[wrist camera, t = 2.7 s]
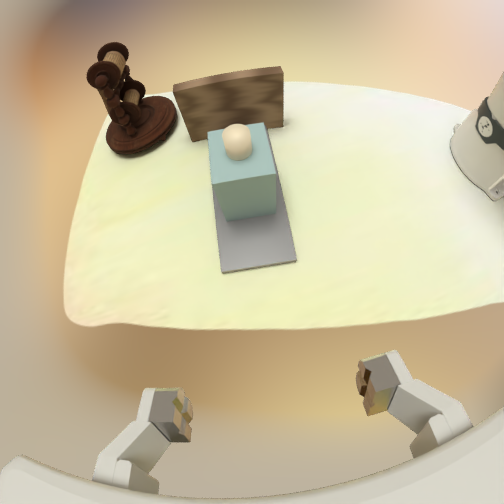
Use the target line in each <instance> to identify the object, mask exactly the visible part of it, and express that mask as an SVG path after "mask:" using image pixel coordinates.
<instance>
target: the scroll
mask: <svg viewBox="0 0 504 504" xmlns="http://www.w3.org/2000/svg"><path fill="white" fill-rule="evenodd" d="M128 56H129V52H128V49H127V48H126V46H125V45H123V44H121V43H118V42H111V43H108V44H106V45H104V46H103V47H102V48H101V49H100V50H99V52H98V56H97V58H98V61H99V62H97V63H95V64H93V65H92V66H91V67H90V68H89V70H88V72H87V81H88V83H89V84H90V85H91V86H92V87H94V88H96V89H97V90H98V91H99V93H100V95H101V97H102V99H103V102H104V104H105V106H106V109H107V111H108V114H109V116H110V117H111V119H112V122H111V123H110V125H109V127H108V129H107V133H106V141H107V144H108V145H109V146H110V148H111V149H112V150H113V151H114V152H116V153H118V154H132V153H137V152H140V151H142V150H145V149H147V148H149V147H151V146H152V145H154V144H155V143H157V142H158V141H160V140H163V141H165V140H166V136H165V135H166V134H167V133H168V132H169V131H170V129H171V128H172V126H173V125H174V123H175V120H176V116H177V112H176V108H175V106H174V104H173V102H172V101H171V100H170V99H168V98H166V97H162V96H151V97H146V98H143V97H144V95H145V91H146V90H145V87H144V85H143V84H142V83H140V82H139V81H136V80H133V79H132V78H131V77H130V76H129V74H130V73H129V72H130V69H129V66H127V65H125V64H126V61H127V59H128ZM124 79H125V82H124ZM113 89H114V90H113ZM142 98H143V99H142ZM120 100H122V101H123V102H120Z"/></svg>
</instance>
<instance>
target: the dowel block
mask: <svg viewBox="0 0 504 504" xmlns="http://www.w3.org/2000/svg"><path fill="white" fill-rule="evenodd" d="M207 133H208V146H209V159H210V171H211V182H212V186H213V189H214V191H215V194H216V197H217V199H218V202H219V204H220V207H221V209H222V212H223V214H224V217H225V219H226V222H228V221H234V220H240V219H246V218H252V217H258V216H264V215H270V214H276V171H275V167H274V163H273V158H272V154H271V150H270V146H269V142H268V138H267V134H266V130H265V126H264V122H263V123H256V124H249V125H243V124H233V125H230V126H228V127H226V128H225V129H220V130H215V131H210V132H207Z"/></svg>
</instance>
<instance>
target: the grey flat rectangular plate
mask: <svg viewBox="0 0 504 504" xmlns="http://www.w3.org/2000/svg"><path fill="white" fill-rule="evenodd" d="M265 130H266V134H267V138H268V142H269V146H270V150H271V154H272V158H273V163H274V167H275V171H276V214H270V215H264V216H258V217H252V218H246V219H240V220H234V221H228V222H226V219H225V217H224V214H223V212H222V209H221V207H220V204H219V202H218V199H217V197H216V194H215V191H214V189H213V199H214V209H215V219H216V228H217V238H218V247H219V256H220V264H221V272H222V273H229V272H235V271H241V270H248V269H254V268H260V267H266V266H272V265H278V264H284V263H290V262H296V260H297V258H296V253H295V248H294V244H293V239H292V234H291V229H290V225H289V220H288V215H287V211H286V206H285V202H284V197H283V193H282V189H281V184H280V180H279V176H278V172H277V167H276V163H275V159H274V155H273V151H272V147H271V143H270V139H269V135H268V131H267V127H266V125H265ZM212 188H213V186H212Z"/></svg>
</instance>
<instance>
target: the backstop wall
mask: <svg viewBox="0 0 504 504" xmlns="http://www.w3.org/2000/svg"><path fill="white" fill-rule="evenodd" d="M173 94H174V97H175V99H176V102H177V104H178V107H179V109H180V112H181V114H182V117H183V120H184V122H185V125H186V127H187V130H188V132H189V135H190V137H191V140H192V142H195V141H200V140H205V139H208V133H207V132H210V131H215V130H220V129H225V128H226V127H228V126H230V125H233V124H243V125H249V124H256V123H263V122H264V126H265V125H266V127H267V129H269V128H276V127H283V71H282V69H281V67H280V66H278V67H267V68H258V69H251V70H244V71H237V72H231V73H225V74H220V75H214V76H209V77H204V78H200V79H196V80H191V81H187V82H183V83H179V84H175V85H173Z"/></svg>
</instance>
